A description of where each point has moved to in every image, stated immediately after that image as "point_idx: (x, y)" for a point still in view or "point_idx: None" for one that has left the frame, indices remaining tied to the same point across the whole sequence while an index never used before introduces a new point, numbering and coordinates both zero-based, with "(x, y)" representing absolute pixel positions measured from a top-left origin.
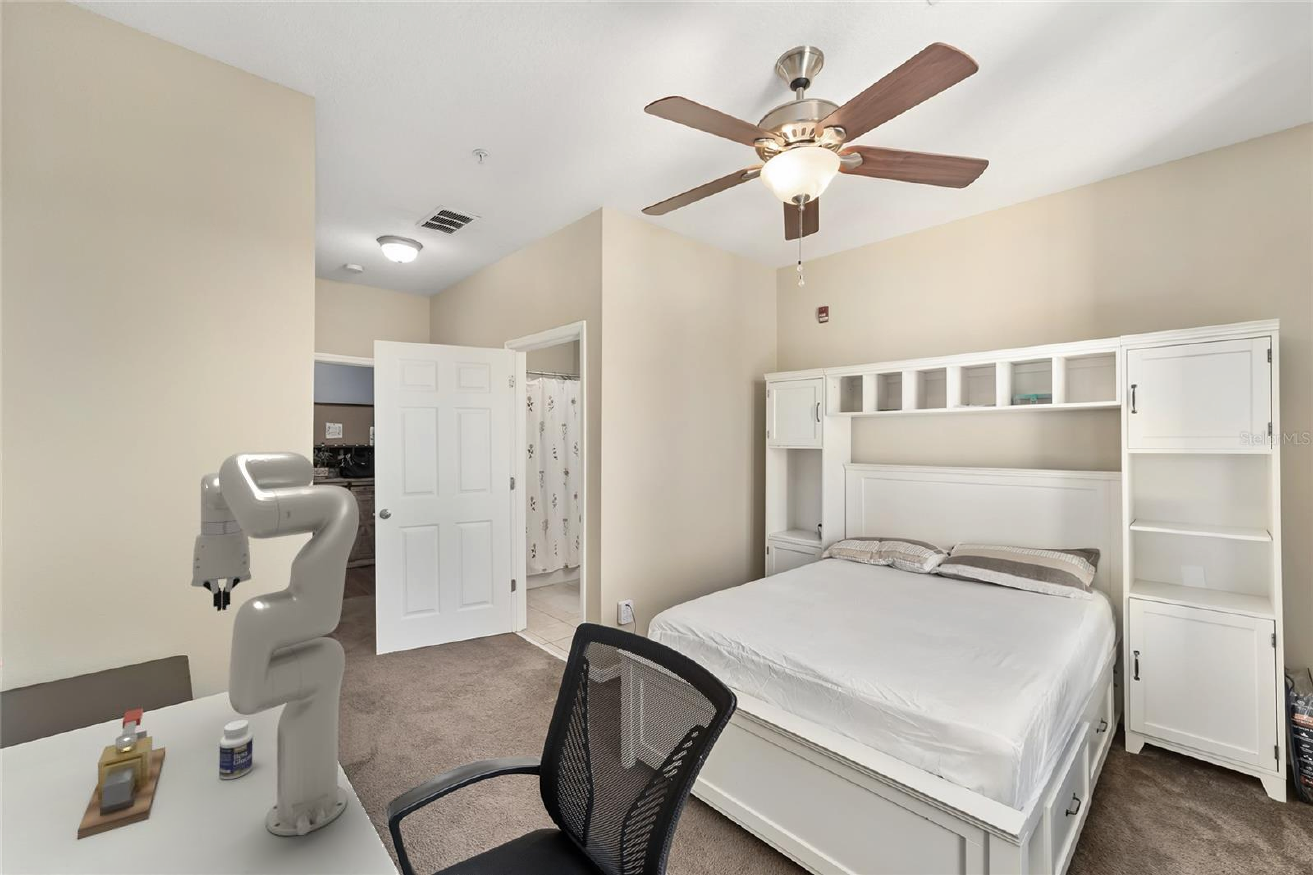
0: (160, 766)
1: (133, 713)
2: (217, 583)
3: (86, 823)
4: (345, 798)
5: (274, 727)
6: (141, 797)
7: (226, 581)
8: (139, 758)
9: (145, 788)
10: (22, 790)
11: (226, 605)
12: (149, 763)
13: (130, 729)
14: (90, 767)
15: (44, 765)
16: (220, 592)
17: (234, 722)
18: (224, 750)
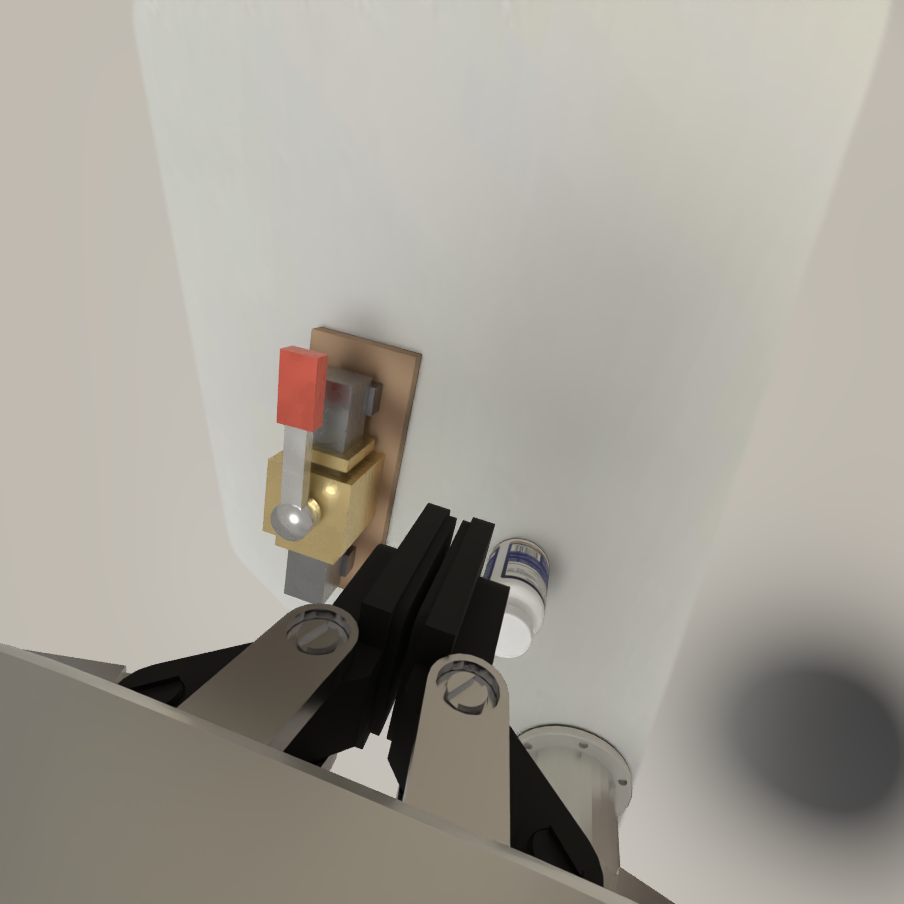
0: (401, 442)
1: (297, 381)
2: (297, 724)
3: None
4: (619, 813)
5: (663, 419)
6: (363, 549)
7: (406, 781)
8: (331, 555)
9: (370, 522)
10: (199, 299)
11: (492, 531)
12: (363, 508)
13: (295, 481)
14: (293, 289)
15: (212, 189)
16: (376, 697)
17: (503, 620)
18: None
